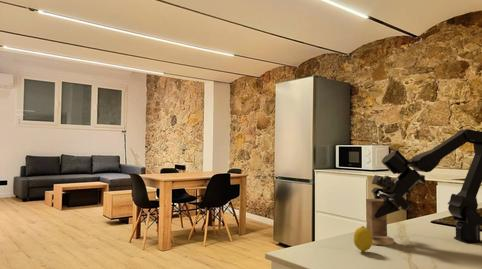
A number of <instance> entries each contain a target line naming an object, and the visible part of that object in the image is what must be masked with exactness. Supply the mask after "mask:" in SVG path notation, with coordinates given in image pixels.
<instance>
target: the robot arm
mask: <svg viewBox="0 0 482 269" xmlns="http://www.w3.org/2000/svg"><path fill="white" fill-rule="evenodd" d="M466 143H469V144H473V152H474V156H473V158H472V160H471V163H470V166H469V168H468V171H467V173H466V176H465V179H464V181H463V183H462V187H461V190H460V191H459V192H458V193H456V194H455V193H451V194H450V195H451V196H450V198H449V201H448V202H447V205H448V207H447V209H448V212H449V214H450V215H452V218H453V220H454V221H456V226H455V236H453V238H454V239H456V240H458V241H461V242H462V243H467V244H472V243H479V244H480V243H482V239H481V226H482V215H481V214H480V213H479V212H478V207H479V204H478V199H477V196H478V193H479V191H480V188H481V185H482V130H481V131H480V130H473V129H470V128H465V129H460V130H458V131H457V132H456V133H454V134H453V135H451V136H450V137H449V138H447V139H445V140H444V141H443V142H440V143H439V144H438V145H436V146H434V147H433V148H432V149H429V150H426V151H423V152H420V153H418V154H416V155H414V156H412V158H410V159H407V158H406V157H405V156H404V155H403V154H402V153H401V152H400V151H399V149H394V150H392V151H391V152H390V153H388V154H386V155H385V156H384V157H383V158H382V159H381V164H382V165H384V166H385V167H386V168H387V169H388V170H389V171H390V172H391V173H392V174H393V175H396V174H397V175H398V176H397V177H396V178H395V179H392V177H391V176H389V175H384V176H381V175H377V174H374V176H373V178H372V181H371V183H372V185H376V186H379V187H374V188H372V190H371V193H372V195H373V196H374V198H373V199H382V200H384V203H383V204H382V206H381V207H380V209H379V210H378V211H377V213H376V214H375V217H376V218H379V217H382V216H384V215H389V214H393V213H395V212H400V211H401V210H402V211H404V212H406V211H408V209H409V208H410V202H409V201H408V200H407V199H405V197H404V196H406V194H407V195H409V194H410V193H411V191H410V190H411V189H413V187H414V186H415V185H416V184H417V183H420V184H426V176H425V175H424V174H420V173H419V172H421V173H431V172H432V171H433V170H434V169H435V168H436V167H437V166H439V164H440V162H441V160H442V159H444V158H446V157H447V156H448V155H450V154H452V153H453V152H454V151H456V150H457V149H459V148H460V147H462V146H463V145H466Z"/></svg>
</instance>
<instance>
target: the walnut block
mask: <svg viewBox="0 0 482 269" xmlns="http://www.w3.org/2000/svg"><path fill="white" fill-rule="evenodd" d="M365 200H366V201H365V202H366V204H365V205H366V206H365V208H366V228H367V229H368V230H369V231H370V232H371V234H372V237H387V236H388V219H387V215H388V214H387V215H384V216H382V217H379V218H376V217H375V214H376V213H377V211H378V210H379V209H380V207H381V206H382V204H383V203H384V200H382V199H375V198H366V199H365Z"/></svg>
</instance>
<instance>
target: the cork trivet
mask: <svg viewBox="0 0 482 269" xmlns="http://www.w3.org/2000/svg"><path fill="white" fill-rule="evenodd" d="M372 239H373V242H372V246H379V247H380V246H382V247H385V246H391V245H394V243H395V239H394V238H393V237H390V236H389V235H387V237H372Z"/></svg>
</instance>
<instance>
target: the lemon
mask: <svg viewBox="0 0 482 269" xmlns="http://www.w3.org/2000/svg"><path fill="white" fill-rule="evenodd" d="M372 242H373V239H372V234H371V232H370V231H369V230H368V229H367V227H365V226H364V225H361V226H360V227H358V228H356V229H355V231H354V233H353V244H354V245H355V247H356V248H357V249H358V250H360V251H361V253H365V252H366V251H368V250H369V249H371V248H372V246H373V245H372Z"/></svg>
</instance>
